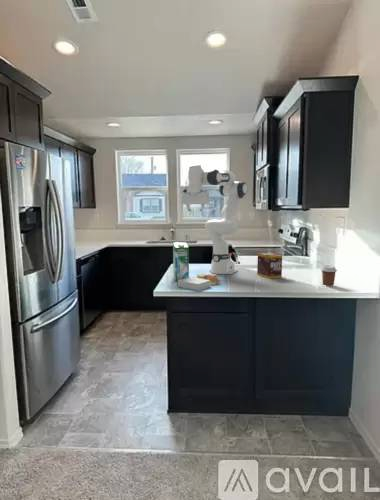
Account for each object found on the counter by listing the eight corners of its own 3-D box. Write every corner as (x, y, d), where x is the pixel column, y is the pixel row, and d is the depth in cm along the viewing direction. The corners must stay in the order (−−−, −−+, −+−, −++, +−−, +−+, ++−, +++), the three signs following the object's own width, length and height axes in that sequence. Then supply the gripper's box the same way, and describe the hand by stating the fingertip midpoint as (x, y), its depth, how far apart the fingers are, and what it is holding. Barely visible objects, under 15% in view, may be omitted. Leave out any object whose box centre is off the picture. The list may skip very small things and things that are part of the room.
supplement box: (269, 278, 240) (269, 256, 237) (256, 274, 254) (257, 253, 252) (282, 277, 243) (282, 255, 241) (269, 273, 258) (269, 252, 255)
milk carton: (175, 281, 232) (175, 243, 229) (173, 278, 241) (173, 242, 237) (188, 280, 234) (188, 243, 230) (186, 278, 242) (186, 242, 239)
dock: (190, 283, 228) (190, 276, 227) (210, 286, 218) (210, 280, 217) (177, 286, 218) (177, 280, 217) (198, 290, 208) (198, 284, 207)
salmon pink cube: (211, 279, 230) (211, 273, 229) (217, 280, 227) (217, 274, 227) (208, 280, 227) (208, 274, 226) (213, 281, 224) (213, 275, 224)
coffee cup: (338, 285, 219) (339, 266, 217) (331, 288, 213) (332, 268, 211) (324, 283, 226) (325, 264, 224) (317, 285, 219) (318, 266, 218)
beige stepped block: (201, 280, 236) (201, 273, 236) (220, 283, 227) (220, 276, 227) (195, 282, 231) (195, 274, 231) (214, 285, 222) (214, 277, 221)
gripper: (211, 189, 226) (211, 211, 228) (185, 190, 237) (185, 211, 239) (206, 189, 221) (206, 211, 223) (179, 190, 232) (180, 211, 234)
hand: (195, 211), depth 231 cm, fingers open, 8 cm apart
